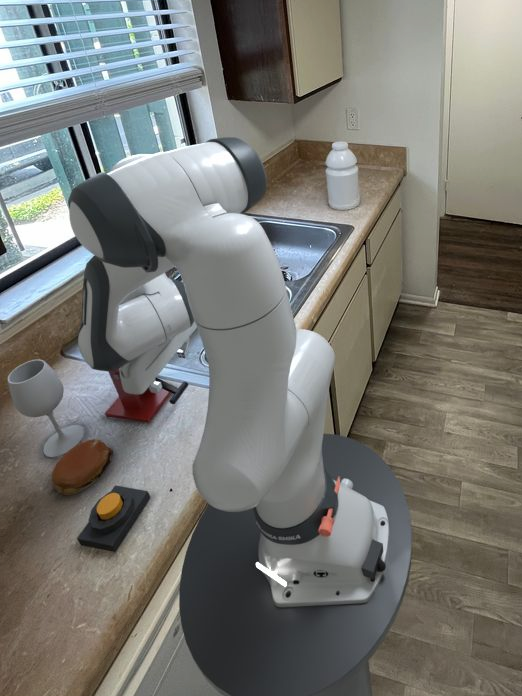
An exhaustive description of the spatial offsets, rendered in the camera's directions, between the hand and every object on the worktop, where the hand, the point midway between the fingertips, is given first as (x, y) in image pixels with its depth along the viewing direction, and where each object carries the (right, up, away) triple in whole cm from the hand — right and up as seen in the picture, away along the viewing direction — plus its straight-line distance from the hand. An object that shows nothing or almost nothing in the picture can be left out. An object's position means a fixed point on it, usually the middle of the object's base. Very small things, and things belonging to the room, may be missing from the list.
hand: (171, 372), depth 96 cm
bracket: (-11, -10, +7) cm, 16 cm away
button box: (-2, -21, -16) cm, 26 cm away
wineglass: (-22, -14, -1) cm, 27 cm away
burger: (-13, -17, -7) cm, 23 cm away
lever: (-6, -3, +3) cm, 7 cm away
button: (-2, -17, -17) cm, 25 cm away
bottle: (+25, +34, +97) cm, 106 cm away
